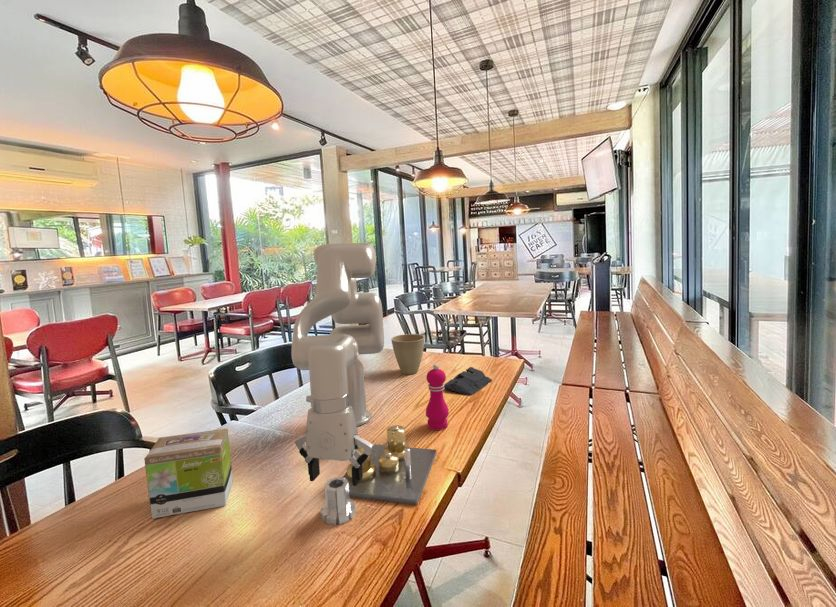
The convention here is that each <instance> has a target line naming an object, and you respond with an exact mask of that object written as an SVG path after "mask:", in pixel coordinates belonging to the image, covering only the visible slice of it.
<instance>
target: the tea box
mask: <svg viewBox="0 0 836 607" xmlns="http://www.w3.org/2000/svg"><path fill="white" fill-rule="evenodd" d="M231 457H232V456H231V450H230V439H229V430H228V428H221V429H214V430H207V431H199V432H193V433H190V432H189V433H184V434H177V435H171V436H170V435H169V436H162V437H161V436H160V437H159V438H158V439H157V440H156V442H155V443H154V444H153V446H152V448H151V449H150V450H149V452H148V454H146V456H145V457H144V466H145V467H144V468H145V474H146V475H145V476H146V483H147V490H148V491H147V492H148V500H149V506H150V511H151V516H152V517H151V518H152V519H153V520H154V519H158V518H163V517H168V516H173V515H181V514H185V513H191V512H197V511H202V510H203V511H204V510H208V509H214V508H222V507H226V505H227V503H228V499H229V495H230V492H231V488H232V485H233V480H234V479H233V468H232V458H231Z"/></svg>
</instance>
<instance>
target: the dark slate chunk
mask: <svg viewBox="0 0 836 607" xmlns="http://www.w3.org/2000/svg"><path fill="white" fill-rule="evenodd" d="M492 381H493V379H492V378H490V377H489V376H486V375H485V373H484V372H483V371H482V370H480V369H477V368H474V367H472V366H470V367H469V368H467V369H465V370H464V371H461V372H460V373H458V374H456V376H454V378H453V379H450V380H448V382H446V383H443V384H444V390H446V391H447V390H448V391H450V392H456V393H458V394H461V395H465V396H473V395H475V394H476V393H478V392H479V391H480V390H482V389H483V388H485V387H486V386H488V385H489V384H490V383H492ZM488 383H489V384H488Z"/></svg>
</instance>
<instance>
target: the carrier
mask: <svg viewBox="0 0 836 607" xmlns="http://www.w3.org/2000/svg"><path fill="white" fill-rule="evenodd" d="M386 437H387V438H386V440H387V444H378V443H376V444H375V443H372V444H373V448H372V451H371V453H370V455H369V456H368V458H367V459H366V460H365V461H364V462H363V463H362V471H363V477H362V479H361V480H360V481H359V483H358V484H357V486H353V485H352V467H353V464H352V463H351V462H350V463H349V464H348V466H347V467H346V472H345V473H344V475H343V476H342V477H343V478H346V479H347V481H348V483H349V498H350V497H352V498H357V499H359V498H360V499H367V500H375V501H382V502H390V503H391V502H392V503H399V504H405V505H406V504H407V505H415V506H418V504H419V501H420V498H421V496H422V493H423V490H424V488H425V485H426V483H427V480H428V478H429V474H430V472H431V469H432V467H433V464H434V462H435V459H436V457H437V449H431V448H419V447H411V446H410V445H409V444H407V443H406V428H405V427H404V426H402V425H397V424H395V425H391V426H389V427H387V429H386ZM358 451H359V452H360V454H361V455H362V454H363V452H364V449H363V448H361V447H359V446H358ZM354 457H355V456H354Z"/></svg>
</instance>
